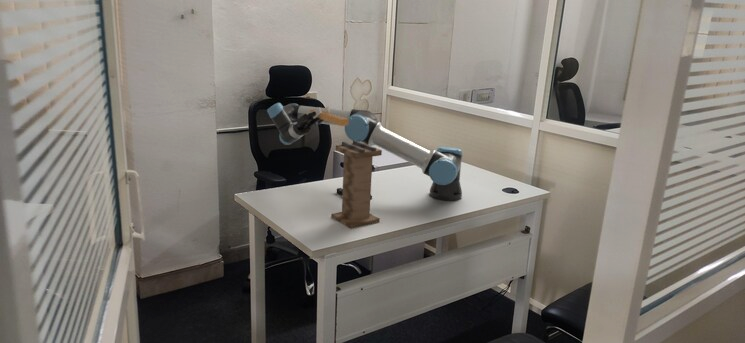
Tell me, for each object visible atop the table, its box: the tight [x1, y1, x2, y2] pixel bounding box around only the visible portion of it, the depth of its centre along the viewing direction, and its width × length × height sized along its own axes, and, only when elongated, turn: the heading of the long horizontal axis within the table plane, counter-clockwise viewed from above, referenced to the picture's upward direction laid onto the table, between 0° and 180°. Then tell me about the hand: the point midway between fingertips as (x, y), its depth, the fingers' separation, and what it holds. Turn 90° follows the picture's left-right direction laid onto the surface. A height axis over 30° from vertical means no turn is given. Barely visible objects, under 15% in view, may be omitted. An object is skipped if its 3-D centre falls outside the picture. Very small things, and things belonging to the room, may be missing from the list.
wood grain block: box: [310, 109, 349, 127], centre depth 224 cm, size 24×4×2 cm, turn 37°
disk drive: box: [336, 187, 373, 201], centre depth 247 cm, size 10×3×15 cm
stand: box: [331, 140, 383, 230], centre depth 214 cm, size 14×14×31 cm
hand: (324, 109), depth 226 cm, fingers closed on wood grain block, 3 cm apart
